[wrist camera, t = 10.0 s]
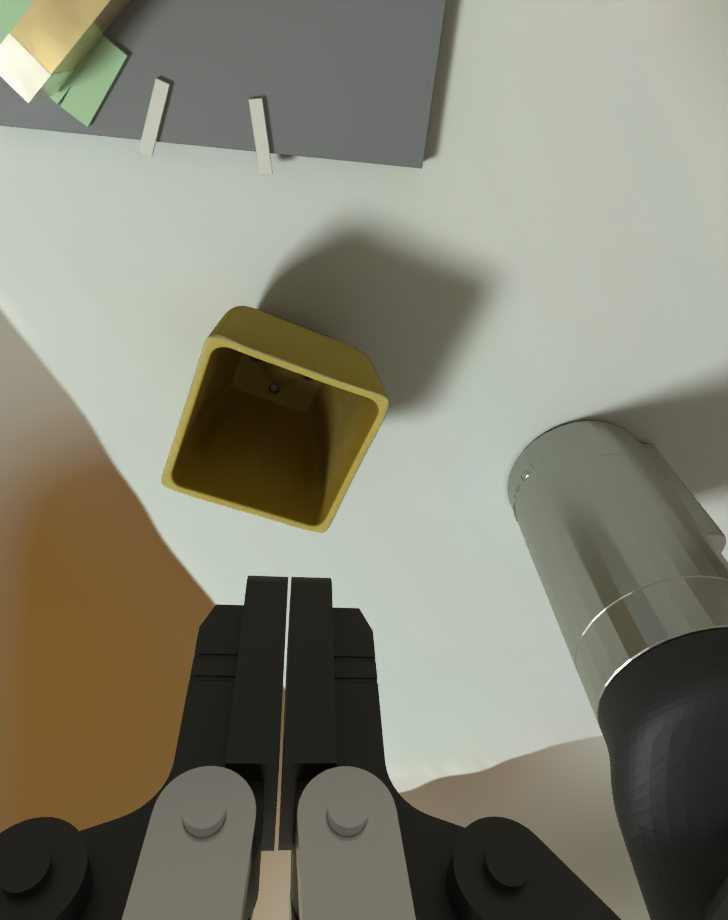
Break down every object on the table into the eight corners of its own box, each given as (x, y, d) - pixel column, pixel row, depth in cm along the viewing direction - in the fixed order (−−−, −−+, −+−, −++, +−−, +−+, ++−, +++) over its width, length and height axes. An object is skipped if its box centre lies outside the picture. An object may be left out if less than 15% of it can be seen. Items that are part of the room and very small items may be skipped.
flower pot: (186, 400, 40) (157, 488, 32) (229, 266, 36) (207, 333, 28) (323, 444, 42) (325, 536, 35) (379, 324, 38) (394, 400, 30)
